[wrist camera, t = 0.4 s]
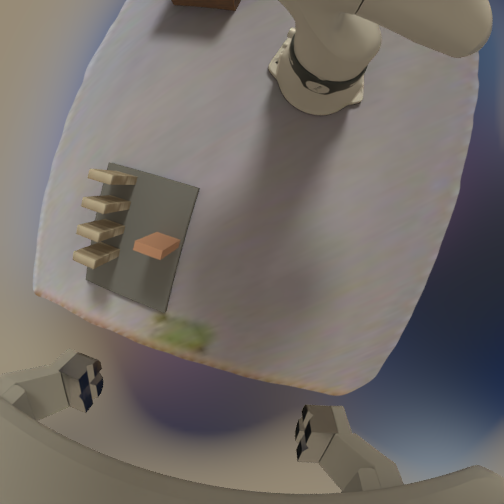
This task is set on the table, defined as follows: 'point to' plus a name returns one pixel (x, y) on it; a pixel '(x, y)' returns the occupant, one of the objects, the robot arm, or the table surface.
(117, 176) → the domino
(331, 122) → the table surface
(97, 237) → the domino
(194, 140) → the table surface
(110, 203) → the domino
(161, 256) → the end domino
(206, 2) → the tissue box cover
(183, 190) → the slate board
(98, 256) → the domino
